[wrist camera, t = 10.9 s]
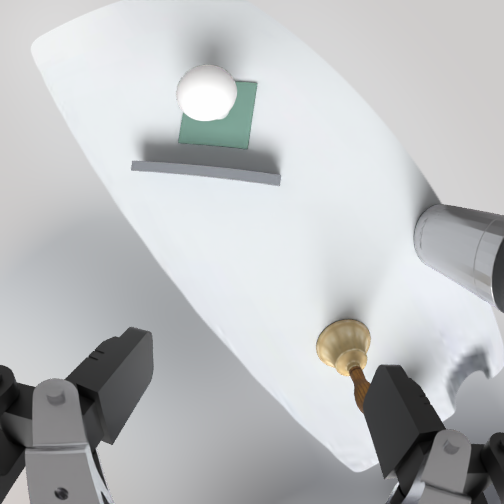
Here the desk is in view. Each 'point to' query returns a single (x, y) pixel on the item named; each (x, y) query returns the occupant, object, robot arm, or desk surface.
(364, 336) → the hand bell
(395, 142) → the desk surface
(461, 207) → the robot arm
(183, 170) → the wall
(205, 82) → the lightbulb
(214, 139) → the pad
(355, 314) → the desk surface
